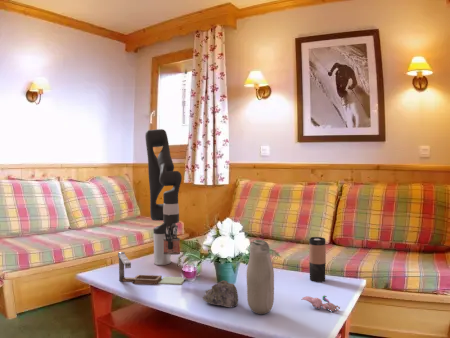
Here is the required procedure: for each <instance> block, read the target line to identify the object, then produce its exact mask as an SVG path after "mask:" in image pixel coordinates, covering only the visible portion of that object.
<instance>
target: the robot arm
mask: <svg viewBox="0 0 450 338" xmlns="http://www.w3.org/2000/svg"><path fill="white" fill-rule="evenodd" d="M169 144H170V143H169V138H168V134H167V131H166V130H165V129H163V128H160V129H159V128H158V129H148V130H146V131H145V146H146V147H145V148H146V153H147V154H146V155H147V168H148V169H147V171H148V172H147V174H148V184H149V195H150V196H149V198H150V199H149V201H150V202H149V204H150V205H149V207H150V209H149V210H150V212H149V213H150V219H151V221H156V222H157V221H159V222H160V221H161V222H162V221H163V223H162V224H160V225H158V226H155V227H154V228H153V264H155V265H157V266H166V265H169V264H171V262H172V261H171V260H172V259H171V257H172V256H171V255H166V254H163V252H164V240H163V238H166V241H167V242H168V249H169V250H172V249H173V237H174V234H177V235H178V228H179V227H178V225H177V224H178V223H179V222H180V207H179V192H180V187H181V183H182V178H183V177H182V173H181V172H180V171H178V170H175V165H174V162H173V159H172V156H171V150H170V145H169ZM160 147H162V148H161V149H160V152H159V153H158V155H157V156H156V153H155V152H154V148H160ZM164 187H172V188H171V189H169V190H166V191H164V192H163V195H162V197H163V203H157V200H158V197H159V195H160V194H161V192H162V190H163V189H164ZM171 234H172V235H171ZM169 238H170V239H169Z"/></svg>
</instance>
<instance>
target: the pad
mask: <svg viewBox="0 0 450 338" xmlns="http://www.w3.org/2000/svg"><path fill="white" fill-rule="evenodd" d="M182 277H183V276H182ZM182 277H180V276H178V277H177V276H163V277H162V280H161V281H159V283H158V285H159V284H160V285H176V286H177V285H178V286H179V285H180V286H181V285H182V284H183V283H184V282H185V281H184V279H183V278H182Z"/></svg>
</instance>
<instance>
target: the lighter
mask: <svg viewBox="0 0 450 338" xmlns="http://www.w3.org/2000/svg"><path fill="white" fill-rule="evenodd" d="M171 235H172V234H171ZM169 239H170V238H169ZM163 240H164V252H163V254H166V255H172V256H173V255H174V256H176V255H180V254H181V252H180V250H181V247H180V241H181V238H180V237H178V233H177V234H174V237H173V249H172V250H169V249H168V242H167V241H166V238H163Z"/></svg>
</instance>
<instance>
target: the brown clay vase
mask: <svg viewBox="0 0 450 338" xmlns="http://www.w3.org/2000/svg"><path fill="white" fill-rule="evenodd" d="M246 290H247V291H246V298H247V300H246V301H247V304H248V307H249V309H250V310H251V311H252V312H254V313H255V314H259V315H265V314H268V313H270V311H271V310H272V308H273V306H274V302H275V271H274V266H273V262H272V259H271V254H270V246H269V243H268V242H267V241H265V240H262V239H255V240H253V241H252V242H251V243H250V246H249V257H248V263H247V268H246Z"/></svg>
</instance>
